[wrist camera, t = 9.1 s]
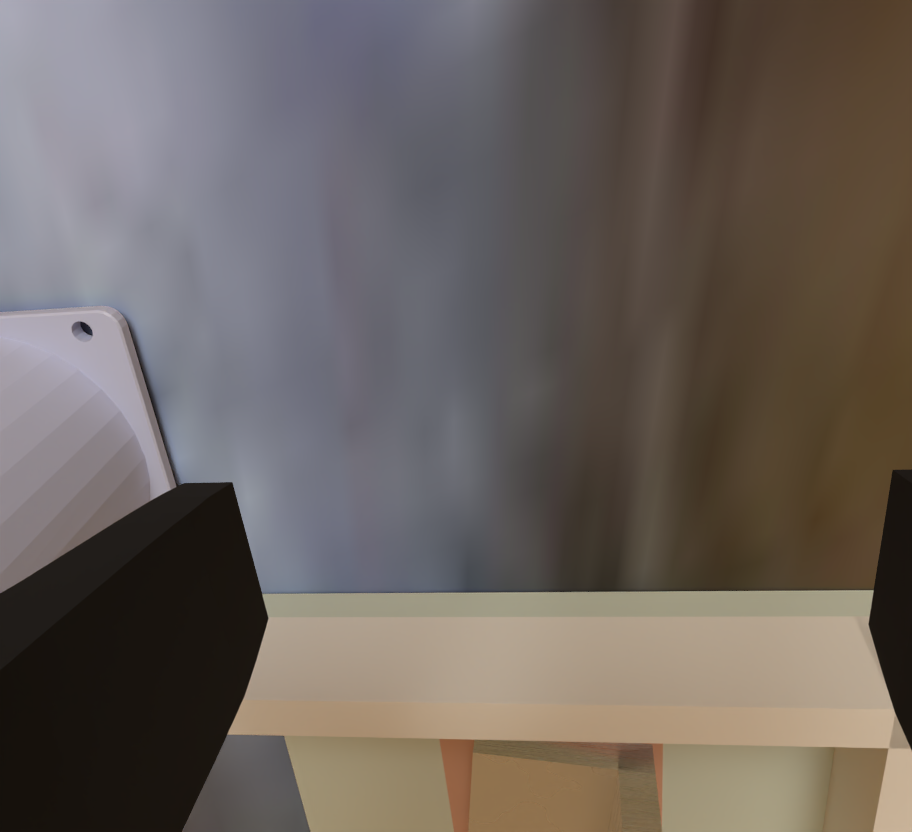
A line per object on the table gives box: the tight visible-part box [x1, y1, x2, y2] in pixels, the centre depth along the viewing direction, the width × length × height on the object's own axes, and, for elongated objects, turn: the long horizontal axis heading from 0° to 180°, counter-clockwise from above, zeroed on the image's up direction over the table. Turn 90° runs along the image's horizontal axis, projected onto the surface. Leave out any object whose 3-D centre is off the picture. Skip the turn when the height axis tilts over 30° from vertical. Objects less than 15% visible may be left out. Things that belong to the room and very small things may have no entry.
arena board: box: [263, 590, 874, 832], centre depth 25 cm, size 17×14×1 cm
